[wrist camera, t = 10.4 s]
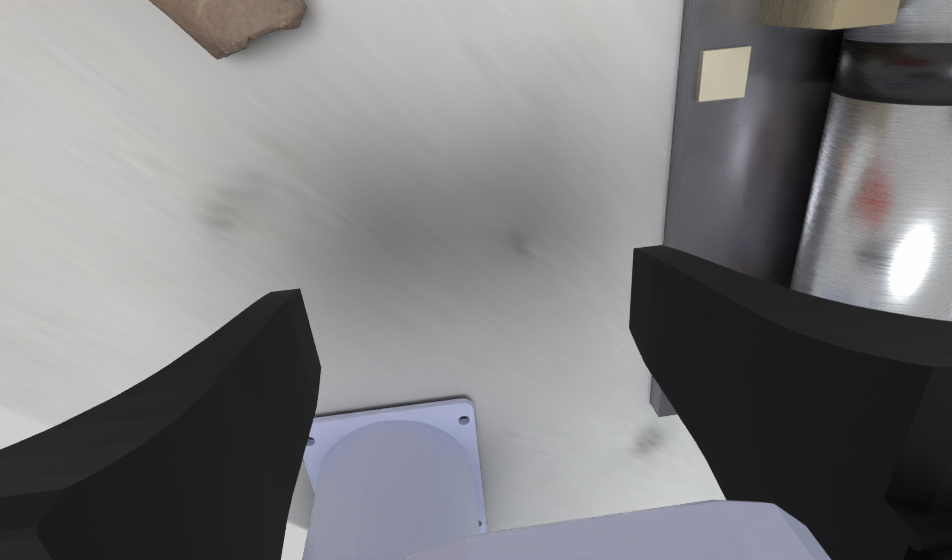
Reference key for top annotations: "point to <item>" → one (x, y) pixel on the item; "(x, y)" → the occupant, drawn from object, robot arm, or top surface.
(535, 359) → the top surface
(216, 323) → the top surface
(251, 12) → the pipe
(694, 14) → the grey plate with pegs
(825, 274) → the silver long rounded block
